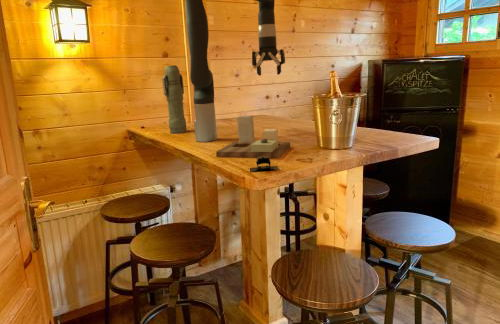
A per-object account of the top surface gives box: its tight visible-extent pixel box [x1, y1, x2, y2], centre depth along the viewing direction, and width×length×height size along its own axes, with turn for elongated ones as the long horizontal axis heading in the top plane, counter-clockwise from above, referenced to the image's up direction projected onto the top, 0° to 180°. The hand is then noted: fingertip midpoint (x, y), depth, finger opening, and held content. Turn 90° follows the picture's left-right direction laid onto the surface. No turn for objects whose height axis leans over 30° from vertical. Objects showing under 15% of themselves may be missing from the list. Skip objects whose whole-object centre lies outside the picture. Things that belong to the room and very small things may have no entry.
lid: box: [251, 138, 277, 152], centre depth 141 cm, size 8×8×4 cm
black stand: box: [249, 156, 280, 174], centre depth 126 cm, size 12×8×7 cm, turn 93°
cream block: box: [262, 128, 279, 147], centre depth 149 cm, size 4×4×8 cm
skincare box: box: [236, 115, 256, 142], centre depth 167 cm, size 6×4×12 cm
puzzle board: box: [215, 141, 291, 159], centre depth 150 cm, size 24×18×2 cm
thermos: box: [161, 64, 187, 135], centre depth 206 cm, size 9×12×35 cm
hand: (269, 75), depth 170 cm, fingers open, 8 cm apart
